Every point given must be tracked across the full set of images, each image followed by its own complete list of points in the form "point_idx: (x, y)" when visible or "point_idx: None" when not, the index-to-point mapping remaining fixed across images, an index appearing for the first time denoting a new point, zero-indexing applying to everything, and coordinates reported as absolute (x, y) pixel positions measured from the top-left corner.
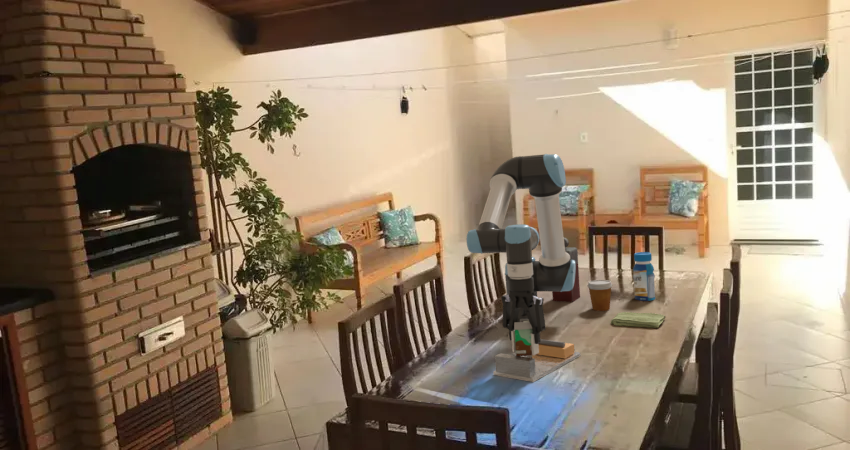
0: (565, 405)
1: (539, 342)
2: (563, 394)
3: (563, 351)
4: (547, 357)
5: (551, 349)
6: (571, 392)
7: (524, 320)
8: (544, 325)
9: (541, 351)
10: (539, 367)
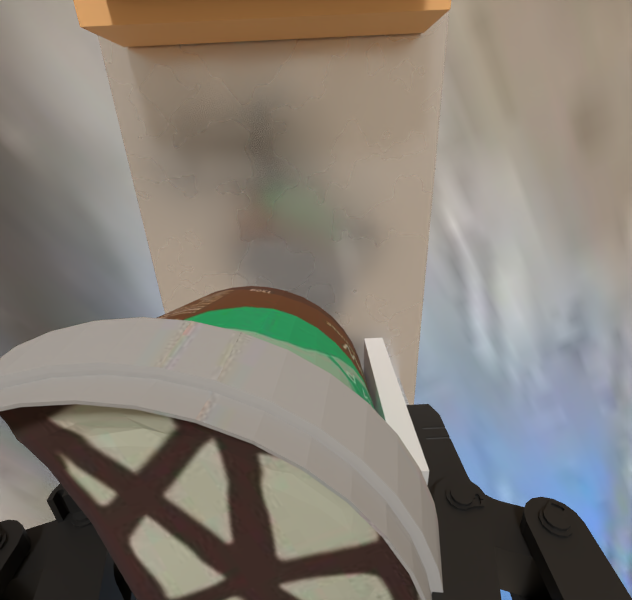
0: (611, 508)
1: (430, 414)
2: (577, 448)
3: (430, 17)
4: (282, 66)
5: (307, 21)
6: (603, 422)
7: (35, 393)
8: (607, 583)
9: (208, 36)
10: (353, 278)
